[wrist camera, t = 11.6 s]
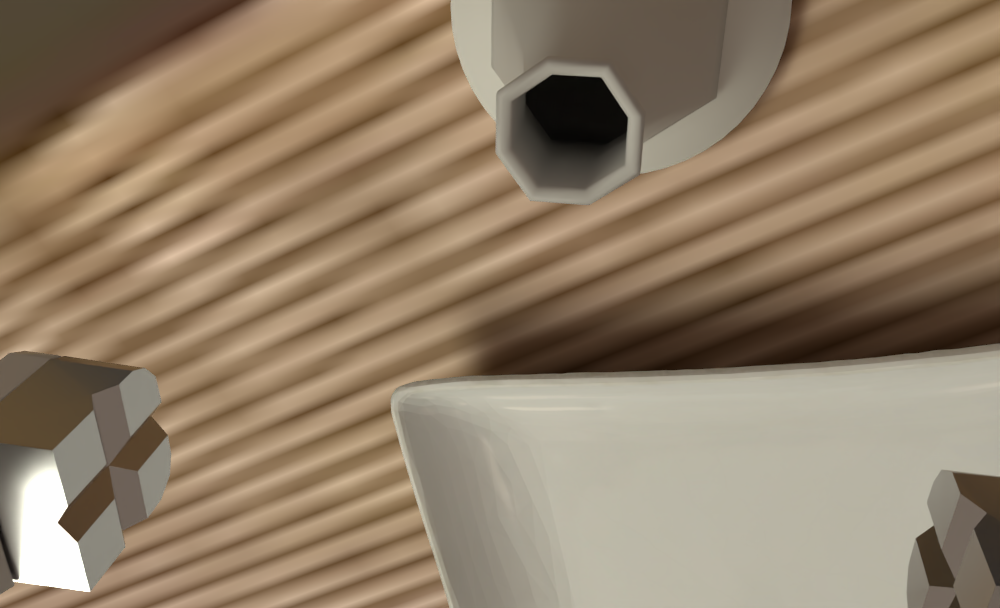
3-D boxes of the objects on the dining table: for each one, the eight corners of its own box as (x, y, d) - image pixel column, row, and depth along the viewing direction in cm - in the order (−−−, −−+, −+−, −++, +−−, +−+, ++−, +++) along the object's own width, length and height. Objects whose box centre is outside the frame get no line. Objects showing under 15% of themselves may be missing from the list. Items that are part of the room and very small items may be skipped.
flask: (701, -136, 25) (707, -106, 16) (752, 116, 28) (780, 254, 19) (455, -55, 27) (346, 10, 19) (526, 171, 30) (461, 319, 21)
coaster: (818, -173, 25) (820, -172, 24) (762, 180, 30) (763, 186, 29) (453, -180, 26) (448, -179, 26) (456, 157, 31) (452, 163, 30)
